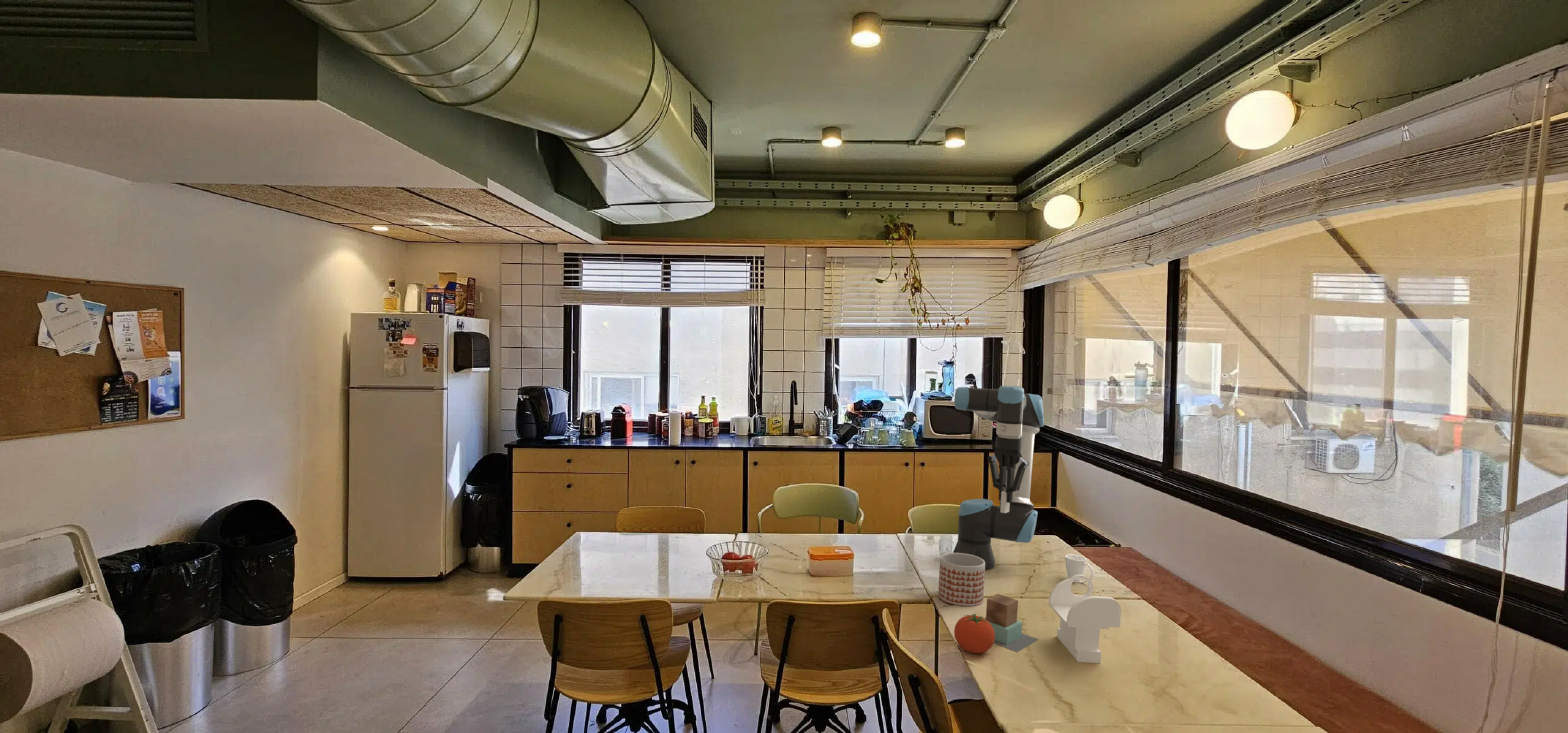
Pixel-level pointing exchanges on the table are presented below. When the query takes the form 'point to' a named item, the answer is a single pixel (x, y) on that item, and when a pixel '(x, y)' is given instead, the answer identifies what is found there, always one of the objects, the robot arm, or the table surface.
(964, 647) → the tomato
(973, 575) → the planter
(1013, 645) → the build mat
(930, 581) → the table surface
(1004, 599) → the walnut block
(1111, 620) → the tape dispenser
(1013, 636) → the teal base block
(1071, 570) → the cup
